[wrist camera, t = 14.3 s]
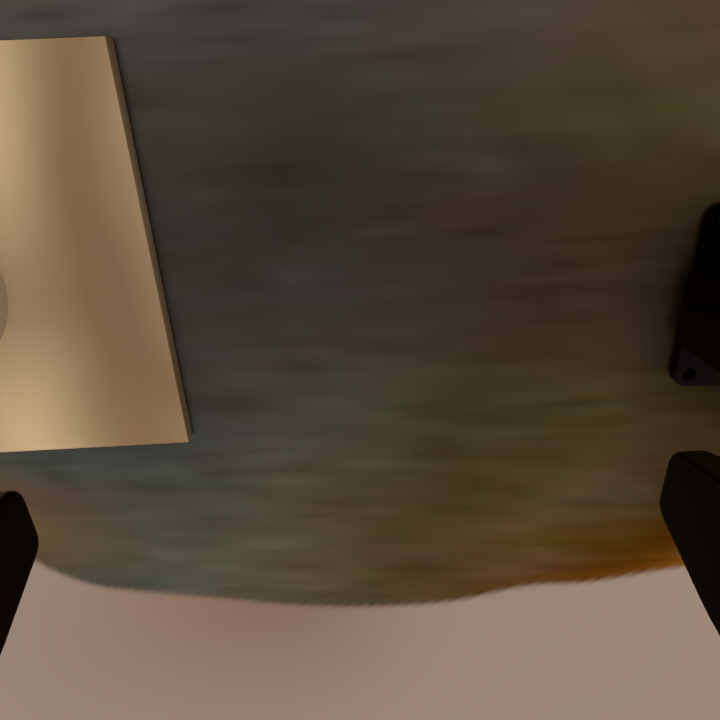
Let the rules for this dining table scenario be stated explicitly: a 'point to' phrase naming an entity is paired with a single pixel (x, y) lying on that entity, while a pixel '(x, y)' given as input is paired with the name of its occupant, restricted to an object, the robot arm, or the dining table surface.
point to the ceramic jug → (3, 305)
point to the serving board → (78, 260)
